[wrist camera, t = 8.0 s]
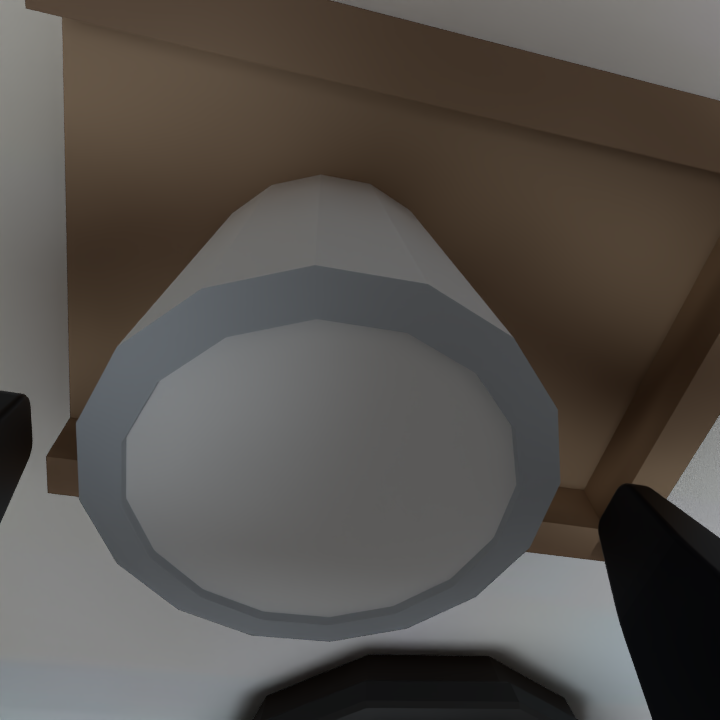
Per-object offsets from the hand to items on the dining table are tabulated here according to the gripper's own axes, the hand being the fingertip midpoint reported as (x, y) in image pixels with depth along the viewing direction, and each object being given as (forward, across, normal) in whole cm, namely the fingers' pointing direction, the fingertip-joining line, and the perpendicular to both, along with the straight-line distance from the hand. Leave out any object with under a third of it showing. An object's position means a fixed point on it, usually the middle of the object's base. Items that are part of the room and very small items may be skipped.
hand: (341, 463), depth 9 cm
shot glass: (+6, 0, 0) cm, 7 cm away
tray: (+8, -2, 0) cm, 8 cm away
